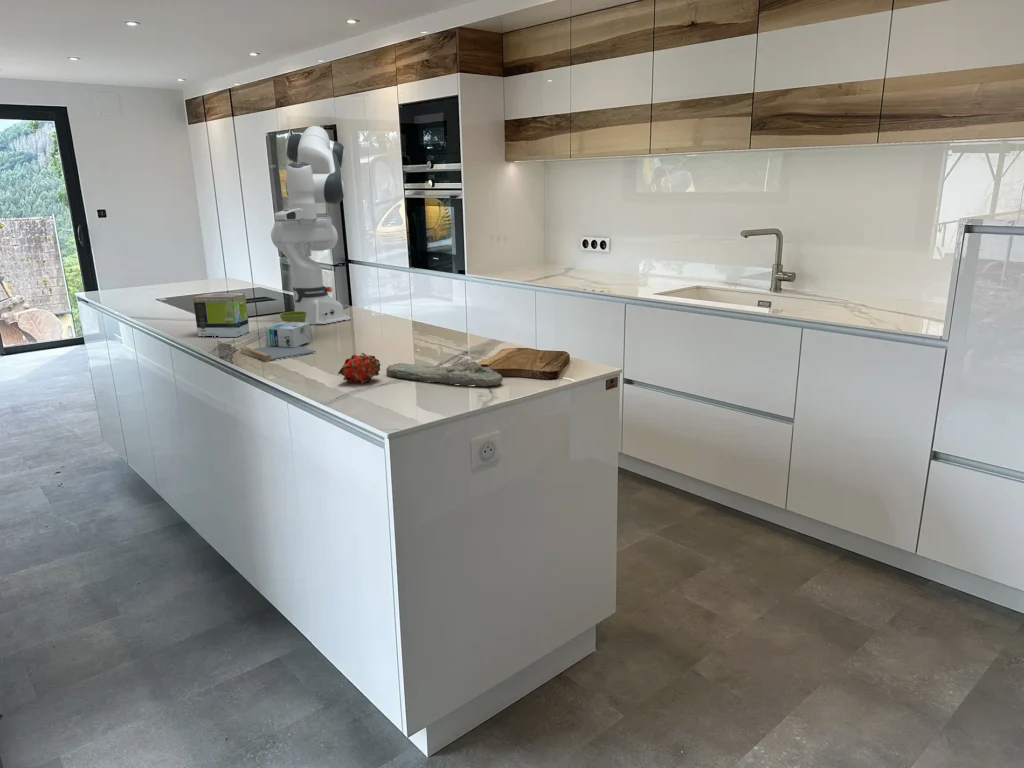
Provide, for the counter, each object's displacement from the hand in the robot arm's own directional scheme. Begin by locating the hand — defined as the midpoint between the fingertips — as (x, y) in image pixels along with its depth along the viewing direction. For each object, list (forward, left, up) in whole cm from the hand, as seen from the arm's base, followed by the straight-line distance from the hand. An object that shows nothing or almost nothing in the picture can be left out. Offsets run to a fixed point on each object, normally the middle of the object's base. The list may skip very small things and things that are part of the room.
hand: (306, 256), depth 233 cm
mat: (+16, +8, -29) cm, 34 cm away
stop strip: (+24, +8, -29) cm, 39 cm away
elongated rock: (+1, +72, -30) cm, 78 cm away
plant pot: (+1, -11, -29) cm, 31 cm away
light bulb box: (+6, +5, -25) cm, 27 cm away
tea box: (+17, -34, -29) cm, 48 cm away
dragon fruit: (+18, +58, -29) cm, 67 cm away
